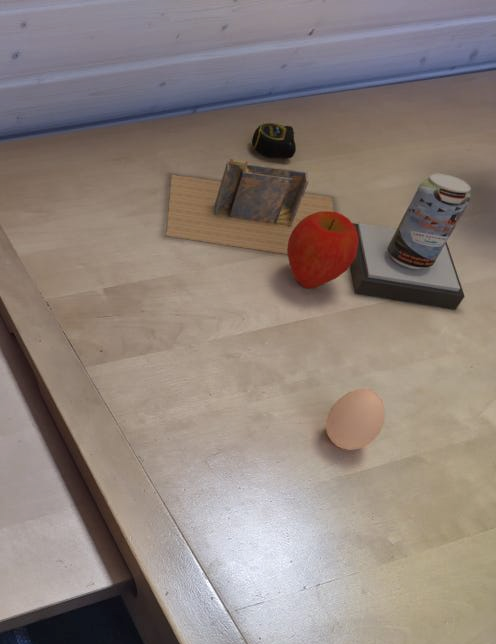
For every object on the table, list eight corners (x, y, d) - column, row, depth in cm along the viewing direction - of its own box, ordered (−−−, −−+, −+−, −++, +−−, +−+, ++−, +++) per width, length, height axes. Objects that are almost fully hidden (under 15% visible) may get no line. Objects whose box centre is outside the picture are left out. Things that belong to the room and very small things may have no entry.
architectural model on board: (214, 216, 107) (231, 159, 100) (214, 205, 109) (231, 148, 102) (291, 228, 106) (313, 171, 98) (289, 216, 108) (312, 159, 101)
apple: (281, 256, 101) (307, 191, 93) (342, 274, 99) (374, 210, 91) (268, 291, 96) (294, 226, 88) (332, 312, 93) (365, 246, 85)
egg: (369, 465, 77) (402, 418, 71) (319, 457, 77) (348, 410, 71) (361, 427, 80) (393, 379, 74) (314, 419, 81) (341, 371, 75)
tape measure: (291, 165, 117) (298, 145, 115) (249, 159, 118) (255, 138, 116) (289, 144, 122) (297, 124, 119) (249, 138, 123) (255, 118, 120)
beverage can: (383, 269, 95) (425, 192, 86) (383, 237, 100) (422, 162, 91) (433, 280, 94) (480, 204, 85) (430, 248, 99) (475, 173, 90)
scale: (437, 250, 103) (447, 233, 101) (456, 309, 95) (468, 293, 92) (345, 236, 105) (353, 219, 103) (355, 293, 96) (364, 276, 94)
